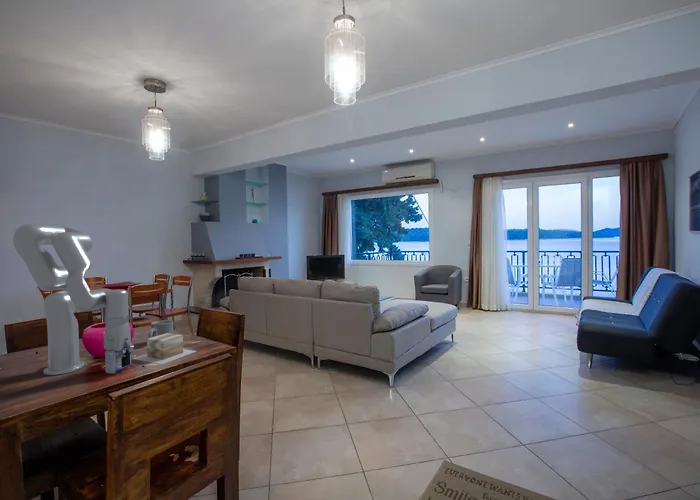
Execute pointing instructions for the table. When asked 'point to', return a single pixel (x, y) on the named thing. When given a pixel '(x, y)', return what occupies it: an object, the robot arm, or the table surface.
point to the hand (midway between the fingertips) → (118, 364)
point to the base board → (160, 361)
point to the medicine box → (114, 361)
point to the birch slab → (164, 341)
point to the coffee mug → (161, 328)
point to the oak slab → (165, 352)
